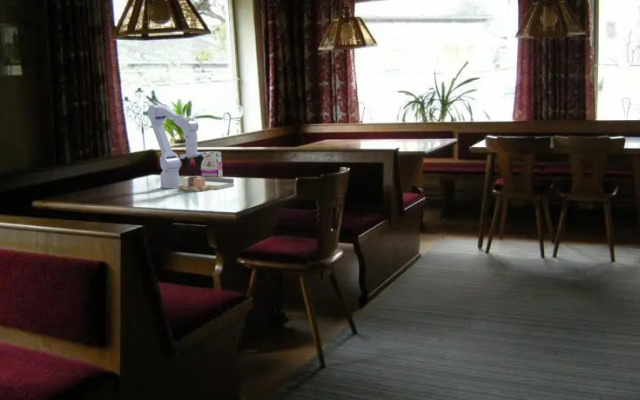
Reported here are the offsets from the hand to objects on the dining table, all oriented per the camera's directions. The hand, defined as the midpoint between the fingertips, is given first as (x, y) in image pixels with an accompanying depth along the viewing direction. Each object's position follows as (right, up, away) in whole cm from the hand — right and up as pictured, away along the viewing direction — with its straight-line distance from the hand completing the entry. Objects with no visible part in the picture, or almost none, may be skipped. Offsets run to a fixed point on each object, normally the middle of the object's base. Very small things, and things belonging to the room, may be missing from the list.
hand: (193, 171), depth 351 cm
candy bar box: (+5, -4, +31) cm, 31 cm away
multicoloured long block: (0, -10, +2) cm, 10 cm away
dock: (+7, -8, +10) cm, 14 cm away
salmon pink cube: (+4, -8, -1) cm, 8 cm away
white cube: (-3, -7, +4) cm, 9 cm away
